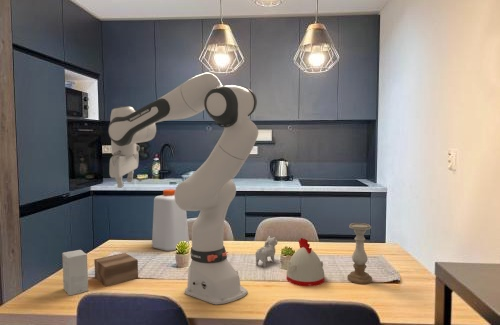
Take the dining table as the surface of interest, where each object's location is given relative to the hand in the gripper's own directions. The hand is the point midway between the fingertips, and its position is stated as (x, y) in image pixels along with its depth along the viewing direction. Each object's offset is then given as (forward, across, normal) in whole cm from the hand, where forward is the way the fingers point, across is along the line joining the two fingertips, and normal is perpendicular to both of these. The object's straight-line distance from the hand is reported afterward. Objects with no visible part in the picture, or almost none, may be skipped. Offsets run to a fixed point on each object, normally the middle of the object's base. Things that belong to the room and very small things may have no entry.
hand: (125, 184), depth 143 cm
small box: (+33, -21, +11) cm, 41 cm away
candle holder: (+31, -10, -90) cm, 96 cm away
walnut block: (+34, -9, +1) cm, 36 cm away
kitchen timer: (+32, -9, -70) cm, 78 cm away
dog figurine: (+35, +9, -56) cm, 66 cm away
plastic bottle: (+39, +32, -8) cm, 52 cm away
